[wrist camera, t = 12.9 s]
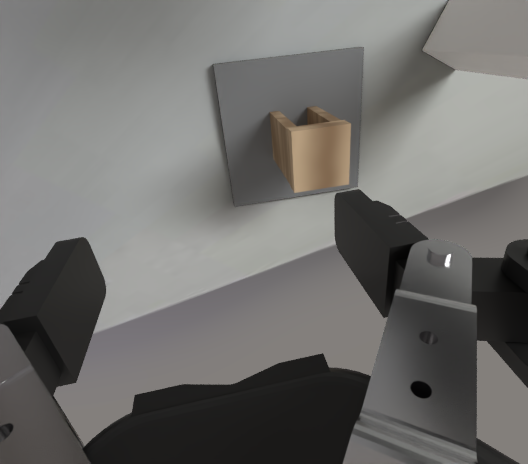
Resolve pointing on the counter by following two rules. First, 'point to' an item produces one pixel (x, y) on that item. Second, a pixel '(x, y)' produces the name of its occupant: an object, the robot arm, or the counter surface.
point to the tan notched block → (312, 150)
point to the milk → (482, 37)
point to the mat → (290, 105)
